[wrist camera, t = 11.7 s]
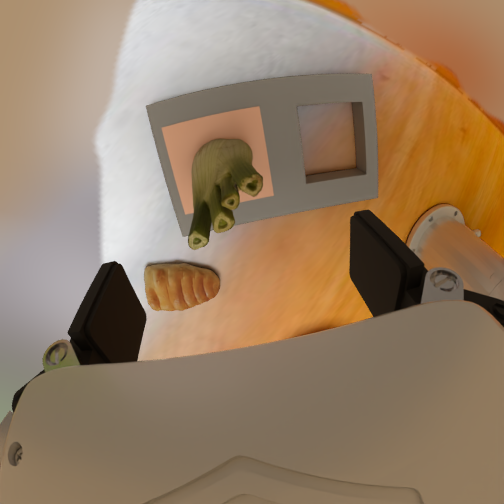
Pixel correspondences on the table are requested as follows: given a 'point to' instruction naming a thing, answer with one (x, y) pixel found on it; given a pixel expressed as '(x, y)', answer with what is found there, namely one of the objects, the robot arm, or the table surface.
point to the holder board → (267, 142)
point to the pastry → (179, 286)
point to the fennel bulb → (220, 186)
